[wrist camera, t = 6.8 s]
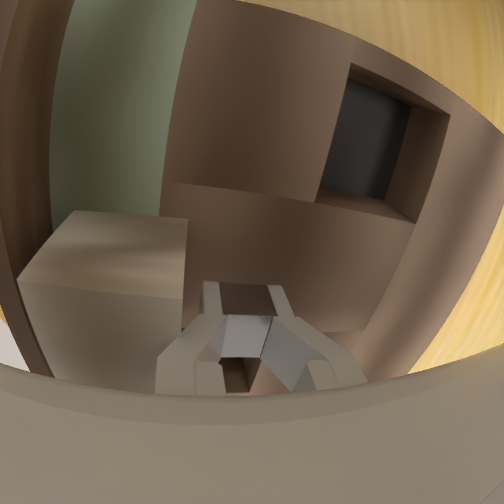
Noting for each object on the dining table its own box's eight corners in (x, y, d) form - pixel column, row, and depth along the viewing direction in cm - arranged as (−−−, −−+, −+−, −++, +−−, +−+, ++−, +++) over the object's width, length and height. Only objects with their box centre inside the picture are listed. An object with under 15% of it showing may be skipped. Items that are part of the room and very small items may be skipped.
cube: (188, 218, 9) (182, 299, 6) (181, 312, 11) (179, 399, 8) (74, 210, 8) (16, 279, 5) (86, 303, 10) (57, 382, 7)
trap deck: (484, 136, 12) (558, 169, 7) (384, 354, 21) (417, 411, 15) (81, 20, 7) (1, -17, 2) (86, 349, 15) (67, 430, 10)
